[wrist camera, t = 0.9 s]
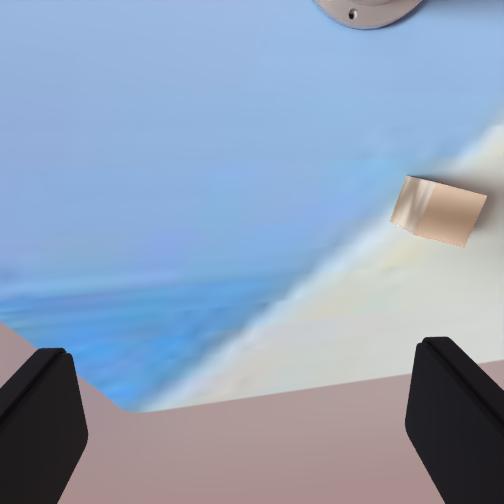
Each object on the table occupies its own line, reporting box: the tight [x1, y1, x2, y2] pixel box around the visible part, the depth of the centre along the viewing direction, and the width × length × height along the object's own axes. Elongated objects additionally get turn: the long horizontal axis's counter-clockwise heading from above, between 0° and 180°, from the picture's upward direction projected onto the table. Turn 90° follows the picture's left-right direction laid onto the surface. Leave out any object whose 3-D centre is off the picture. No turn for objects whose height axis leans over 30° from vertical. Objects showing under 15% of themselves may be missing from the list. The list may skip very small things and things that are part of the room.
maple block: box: [390, 176, 487, 247], centre depth 35 cm, size 5×5×6 cm
